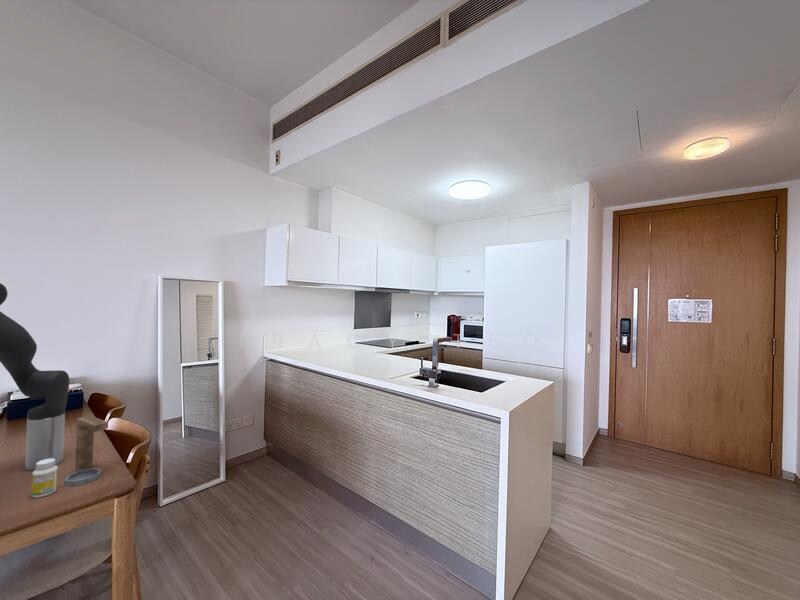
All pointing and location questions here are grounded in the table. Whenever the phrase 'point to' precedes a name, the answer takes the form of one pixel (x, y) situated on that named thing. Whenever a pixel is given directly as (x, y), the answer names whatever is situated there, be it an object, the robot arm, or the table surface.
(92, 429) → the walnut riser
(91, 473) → the locator ring
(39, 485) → the supplement bottle
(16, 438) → the table surface
